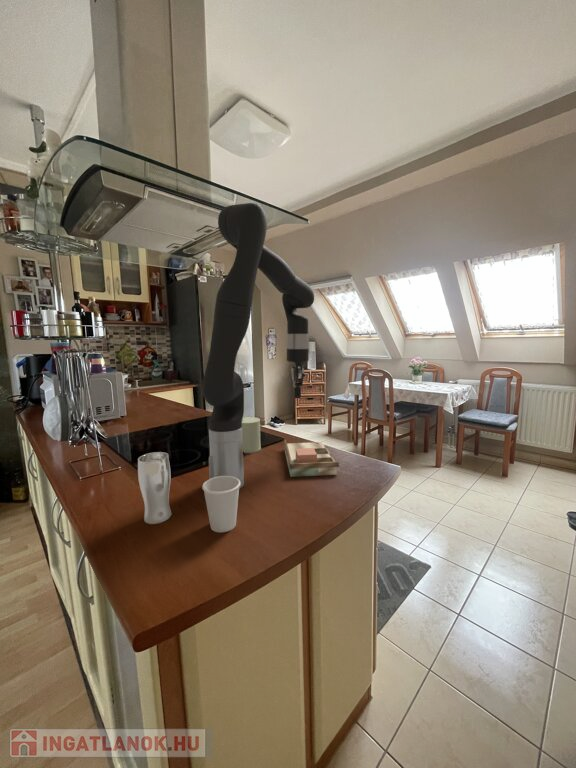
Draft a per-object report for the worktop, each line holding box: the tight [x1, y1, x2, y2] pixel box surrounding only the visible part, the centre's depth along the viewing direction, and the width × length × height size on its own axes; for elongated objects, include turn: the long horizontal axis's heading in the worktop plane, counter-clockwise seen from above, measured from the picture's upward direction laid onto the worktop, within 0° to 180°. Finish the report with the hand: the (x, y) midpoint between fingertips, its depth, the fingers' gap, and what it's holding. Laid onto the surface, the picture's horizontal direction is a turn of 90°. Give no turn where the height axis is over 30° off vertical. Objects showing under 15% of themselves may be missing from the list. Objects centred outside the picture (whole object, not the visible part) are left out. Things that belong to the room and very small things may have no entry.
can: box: [242, 416, 262, 454], centre depth 121 cm, size 9×9×12 cm
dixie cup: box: [201, 476, 240, 533], centre depth 71 cm, size 8×8×10 cm
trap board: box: [283, 439, 340, 478], centre depth 109 cm, size 15×24×4 cm, turn 5°
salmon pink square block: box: [296, 448, 317, 463], centre depth 102 cm, size 6×6×4 cm
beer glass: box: [137, 451, 172, 525], centre depth 75 cm, size 7×7×15 cm
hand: (297, 397), depth 110 cm, fingers closed
